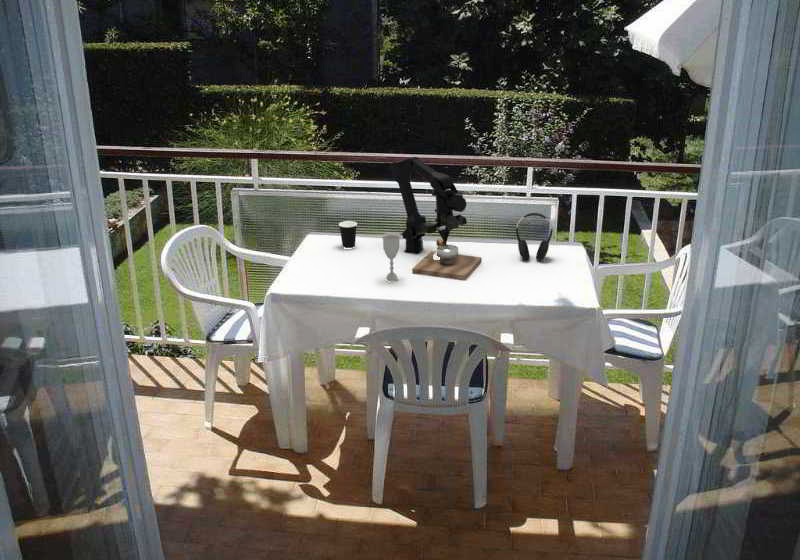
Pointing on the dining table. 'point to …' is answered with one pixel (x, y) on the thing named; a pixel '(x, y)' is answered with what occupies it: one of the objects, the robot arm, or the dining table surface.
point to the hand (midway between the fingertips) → (445, 243)
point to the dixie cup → (348, 233)
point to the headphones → (542, 248)
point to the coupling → (446, 250)
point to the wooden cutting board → (447, 266)
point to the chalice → (391, 251)
